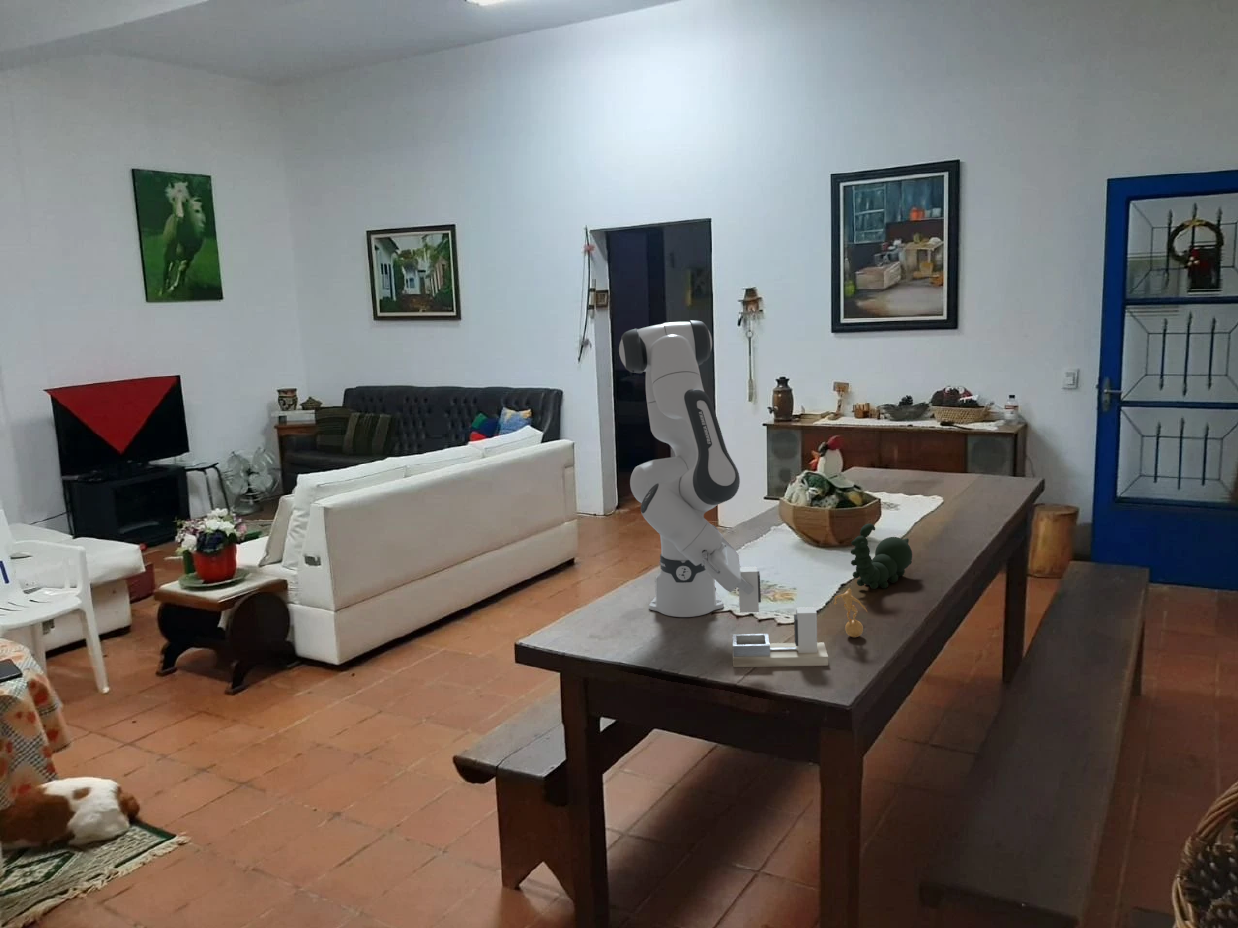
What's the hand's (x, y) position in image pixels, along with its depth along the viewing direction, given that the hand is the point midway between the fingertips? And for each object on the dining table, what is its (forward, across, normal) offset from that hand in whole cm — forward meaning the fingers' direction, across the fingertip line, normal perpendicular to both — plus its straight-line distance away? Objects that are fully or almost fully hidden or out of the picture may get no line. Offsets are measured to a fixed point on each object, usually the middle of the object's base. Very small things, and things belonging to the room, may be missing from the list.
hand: (751, 587), depth 206 cm
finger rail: (+15, 0, +8) cm, 17 cm away
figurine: (+28, +11, -4) cm, 30 cm away
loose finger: (+3, 0, +4) cm, 5 cm away
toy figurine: (+37, +49, -14) cm, 63 cm away
